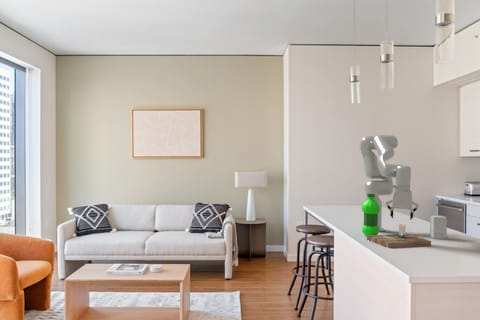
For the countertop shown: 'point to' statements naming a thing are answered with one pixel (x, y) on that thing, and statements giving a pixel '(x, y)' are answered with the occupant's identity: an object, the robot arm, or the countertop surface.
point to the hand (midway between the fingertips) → (401, 218)
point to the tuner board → (398, 240)
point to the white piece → (402, 229)
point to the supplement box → (438, 227)
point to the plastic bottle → (370, 216)
